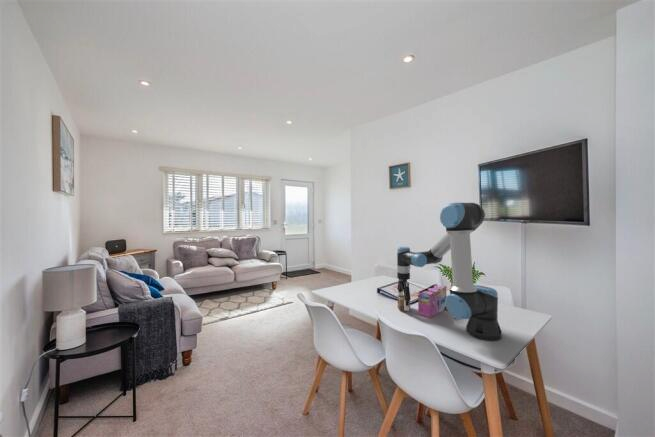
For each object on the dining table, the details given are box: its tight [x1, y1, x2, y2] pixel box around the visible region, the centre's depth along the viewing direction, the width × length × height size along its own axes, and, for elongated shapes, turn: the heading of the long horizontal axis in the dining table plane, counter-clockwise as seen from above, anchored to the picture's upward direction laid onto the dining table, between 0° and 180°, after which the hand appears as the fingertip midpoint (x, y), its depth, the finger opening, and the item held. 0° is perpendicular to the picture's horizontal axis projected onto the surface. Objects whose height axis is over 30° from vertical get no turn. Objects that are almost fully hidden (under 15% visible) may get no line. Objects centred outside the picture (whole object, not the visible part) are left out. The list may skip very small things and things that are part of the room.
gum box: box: [417, 284, 448, 319], centre depth 162 cm, size 24×8×14 cm, turn 134°
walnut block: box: [397, 294, 411, 312], centre depth 165 cm, size 6×6×8 cm
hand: (403, 306), depth 165 cm, fingers open, 13 cm apart
